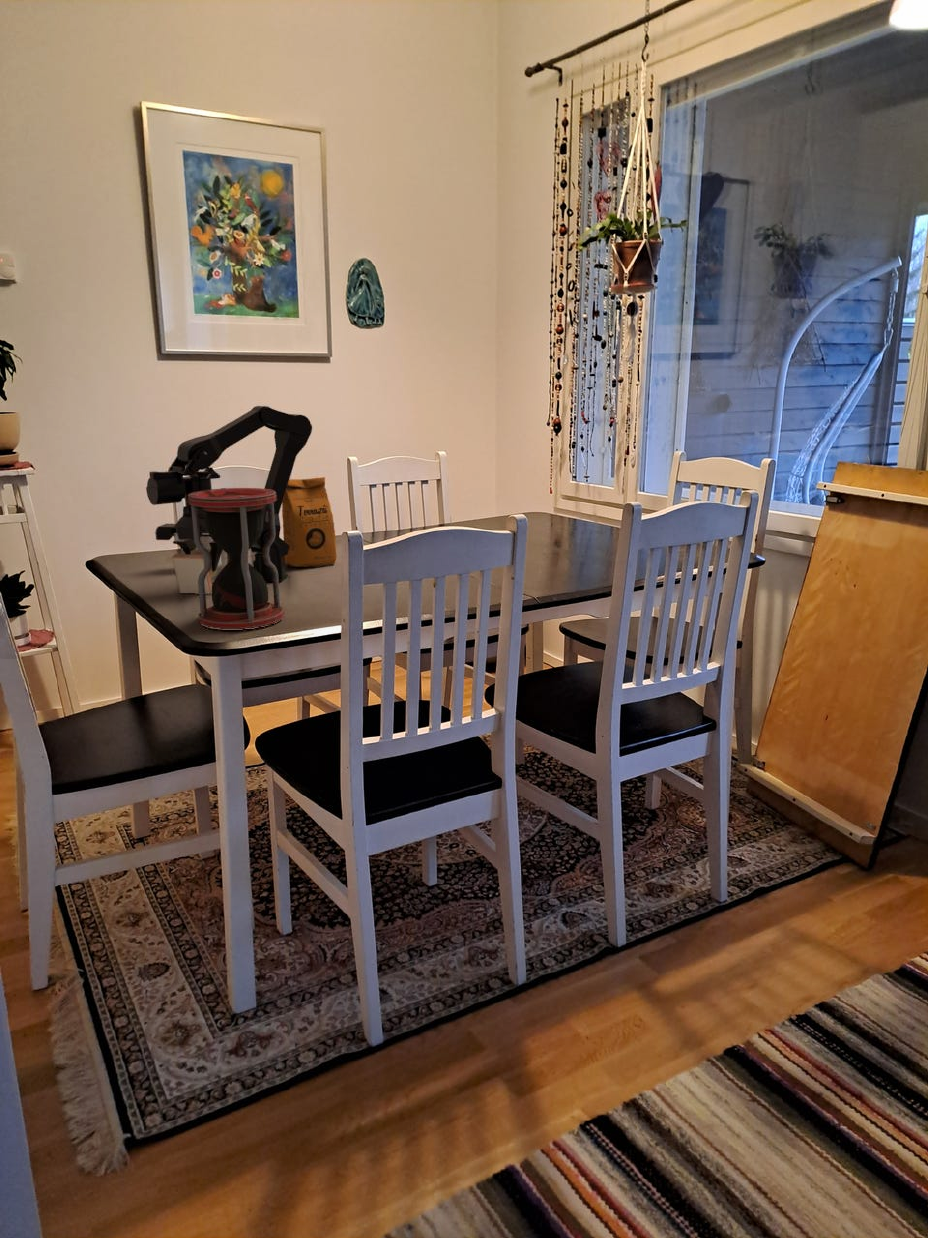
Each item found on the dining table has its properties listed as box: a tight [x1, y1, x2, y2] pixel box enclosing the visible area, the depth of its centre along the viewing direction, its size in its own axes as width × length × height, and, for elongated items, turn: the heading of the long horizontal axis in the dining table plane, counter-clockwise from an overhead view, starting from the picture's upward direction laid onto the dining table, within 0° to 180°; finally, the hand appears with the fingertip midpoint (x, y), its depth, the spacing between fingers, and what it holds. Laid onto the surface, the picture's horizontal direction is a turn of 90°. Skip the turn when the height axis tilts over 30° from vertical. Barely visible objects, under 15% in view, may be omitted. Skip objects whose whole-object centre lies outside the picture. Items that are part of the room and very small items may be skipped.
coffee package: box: [281, 476, 337, 568], centre depth 214 cm, size 10×12×22 cm
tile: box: [171, 553, 213, 595], centre depth 186 cm, size 7×2×9 cm, turn 85°
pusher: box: [191, 548, 218, 579], centre depth 189 cm, size 4×4×6 cm
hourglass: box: [188, 487, 285, 629], centre depth 164 cm, size 16×16×25 cm
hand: (204, 570), depth 189 cm, fingers closed on pusher, 4 cm apart
